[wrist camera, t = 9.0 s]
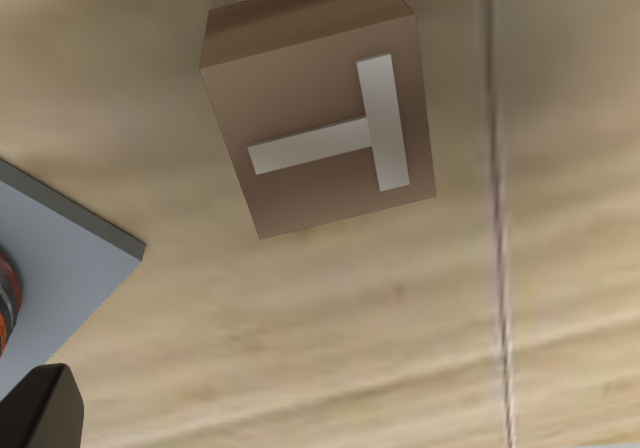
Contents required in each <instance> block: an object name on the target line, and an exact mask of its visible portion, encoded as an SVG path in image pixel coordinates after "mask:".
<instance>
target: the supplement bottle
mask: <svg viewBox="0 0 640 448" xmlns="http://www.w3.org/2000/svg"><path fill="white" fill-rule="evenodd" d="M20 307H21V288H20V284H19V281H18V278H17V276H16V273H15V271H14V269H13V268H12V266H11V265H10V264H9V262H8V259H7V258H6V257H5V256H4V255H3V254H1V253H0V357H1V356H2V354H3V351H4V349H5V346H6V344H7V343H8V340H9V338H10V335H11V333H12V332H13V329H14V327H15V325H16V320H17V316H18V313H19V311H20Z"/></svg>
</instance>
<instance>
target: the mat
mask: <svg viewBox="0 0 640 448" xmlns="http://www.w3.org/2000/svg"><path fill="white" fill-rule="evenodd" d="M144 249H145V244H143V243H142V242H140V241H138V240H137V239H135V238H133V237H131V236H130V235H128V234H126V233H125V232H123V231H121V230H120V229H118V228H116V227H114V226H113V225H111V224H109V223H108V222H106V221H104V220H103V219H101V218H99V217H98V216H96V215H94V214H92V213H91V212H89V211H87V210H86V209H84V208H82V207H81V206H79V205H77V204H75V203H74V202H72V201H70V200H69V199H67V198H65V197H64V196H62V195H60V194H59V193H57V192H55V191H53V190H52V189H50V188H48V187H47V186H45V185H43V184H42V183H40V182H38V181H36V180H35V179H33V178H31V177H30V176H28V175H26V174H25V173H23V172H21V171H20V170H18V169H16V168H14V167H13V166H11V165H9V164H8V163H6V162H4V161H3V160H1V159H0V253H1V254H3V255H4V256H5V257H6V258H7V259H8V262H9V264H10V265H11V266H12V268H13V269H14V271H15V273H16V276H17V278H18V281H19V284H20V288H21V307H20V311H19V313H18V316H17V320H16V325H15V327H14V329H13V332H12V333H11V335H10V338H9V340H8V343H7V344H6V346H5V349H4V351H3V354H2V356H1V357H0V401H1V400H2V399H3V398H4V397H5V396H6V395H7V394H8V393H9V392H10V391H11V390H12V389H13V388H14V387H15V386H16V385H17V384H18V382H19V381H20V380H21V379H22V378H23V377H24V376H25V375H26V374H27V373H28V372H29V371H30V370H31V369H33V368H34V367H36V366H39V365H44V363H45V362H46V361H47V360H48V359H49V358H50V357H51V356H52V355H53V354H54V353H55V352H56V351H57V350H58V349H59V348H60V347H61V346H62V345H63V344H64V343H65V341H66V340H67V339H68V338H69V337H70V336H71V335H72V334H73V333H74V332H75V331H76V330H77V329H78V328H79V327H80V326H81V325H82V324H83V323H84V322H85V320H86V319H87V318H88V317H89V316H90V315H91V314H92V313H93V312H94V311H95V310H96V309H97V308H98V307H99V306H100V305H101V304H102V303H103V302H104V301H105V300H106V298H107V297H108V296H109V295H110V294H111V293H112V292H113V291H114V290H115V289H116V288H117V287H118V286H119V285H120V284H121V283H122V282H123V281H124V280H125V279H126V277H127V276H128V275H129V274H130V273H131V272H132V271H133V270H134V269H135V268H136V267H137V266H138V265H139V264H140V263H141V262H142V258H143V254H144Z"/></svg>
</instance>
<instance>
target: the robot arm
mask: <svg viewBox="0 0 640 448" xmlns="http://www.w3.org/2000/svg"><path fill="white" fill-rule="evenodd" d="M83 419H84V404H83V400H82V397H81V394H80V392H79V389H78V387H77V384H76V382H75V379H74V377H73V374H72V372H71V370H70V368H69V366H68V365H66V364H64V363H57V364H46V365H39V366H36V367H34V368H33V369H31V370H30V371H29V372H28V373H27V374H26V375H25V376H24V377H23V378H22V379H21V380H20V381H19V382H18V384H17V385H16V386H15V387H14V388H13V389H12V390H11V391H10V392H9V393H8V394H7V395H6V396H5V397H4V398H3V399H2V400H1V401H0V448H80V444H81V435H82V427H83Z"/></svg>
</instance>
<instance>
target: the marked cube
mask: <svg viewBox="0 0 640 448" xmlns="http://www.w3.org/2000/svg"><path fill="white" fill-rule="evenodd" d="M199 70H200V73H201V76H202V79H203V81H204V84H205V87H206V90H207V93H208V95H209V98H210V101H211V104H212V107H213V109H214V112H215V115H216V118H217V121H218V123H219V126H220V129H221V132H222V135H223V137H224V140H225V143H226V146H227V149H228V151H229V154H230V157H231V160H232V163H233V165H234V168H235V171H236V174H237V177H238V179H239V182H240V185H241V188H242V191H243V194H244V196H245V199H246V202H247V205H248V208H249V210H250V213H251V216H252V219H253V222H254V224H255V227H256V230H257V233H258V236H259V238H260V239H264V238H268V237H272V236H276V235H280V234H284V233H288V232H293V231H297V230H301V229H305V228H309V227H313V226H317V225H321V224H325V223H329V222H333V221H337V220H341V219H346V218H350V217H354V216H358V215H362V214H366V213H370V212H374V211H378V210H382V209H386V208H390V207H394V206H399V205H403V204H407V203H411V202H415V201H419V200H423V199H427V198H431V197H435V196H436V188H435V180H434V171H433V162H432V154H431V145H430V136H429V128H428V119H427V110H426V102H425V93H424V84H423V76H422V67H421V58H420V50H419V41H418V32H417V24H416V15H415V13H414V12H413V11H412V10H411V9H410V7H409V6H408V5H407V4H406V3H405V2H404V1H403V0H248V1H244V2H240V3H237V4H233V5H229V6H225V7H221V8H217V9H214V10H210V11H209V15H208V21H207V26H206V32H205V38H204V44H203V50H202V56H201V62H200V68H199Z"/></svg>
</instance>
